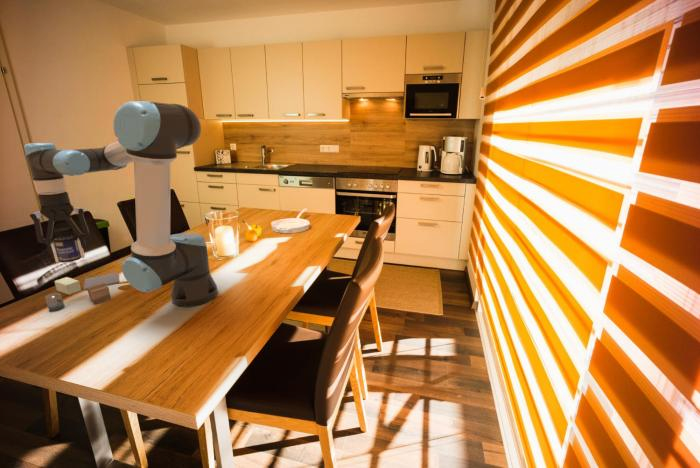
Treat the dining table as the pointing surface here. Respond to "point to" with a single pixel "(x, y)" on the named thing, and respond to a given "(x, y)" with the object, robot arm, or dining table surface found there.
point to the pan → (291, 224)
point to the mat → (102, 280)
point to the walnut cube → (99, 293)
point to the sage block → (67, 285)
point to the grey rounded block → (54, 302)
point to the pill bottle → (66, 245)
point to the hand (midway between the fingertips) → (70, 258)
